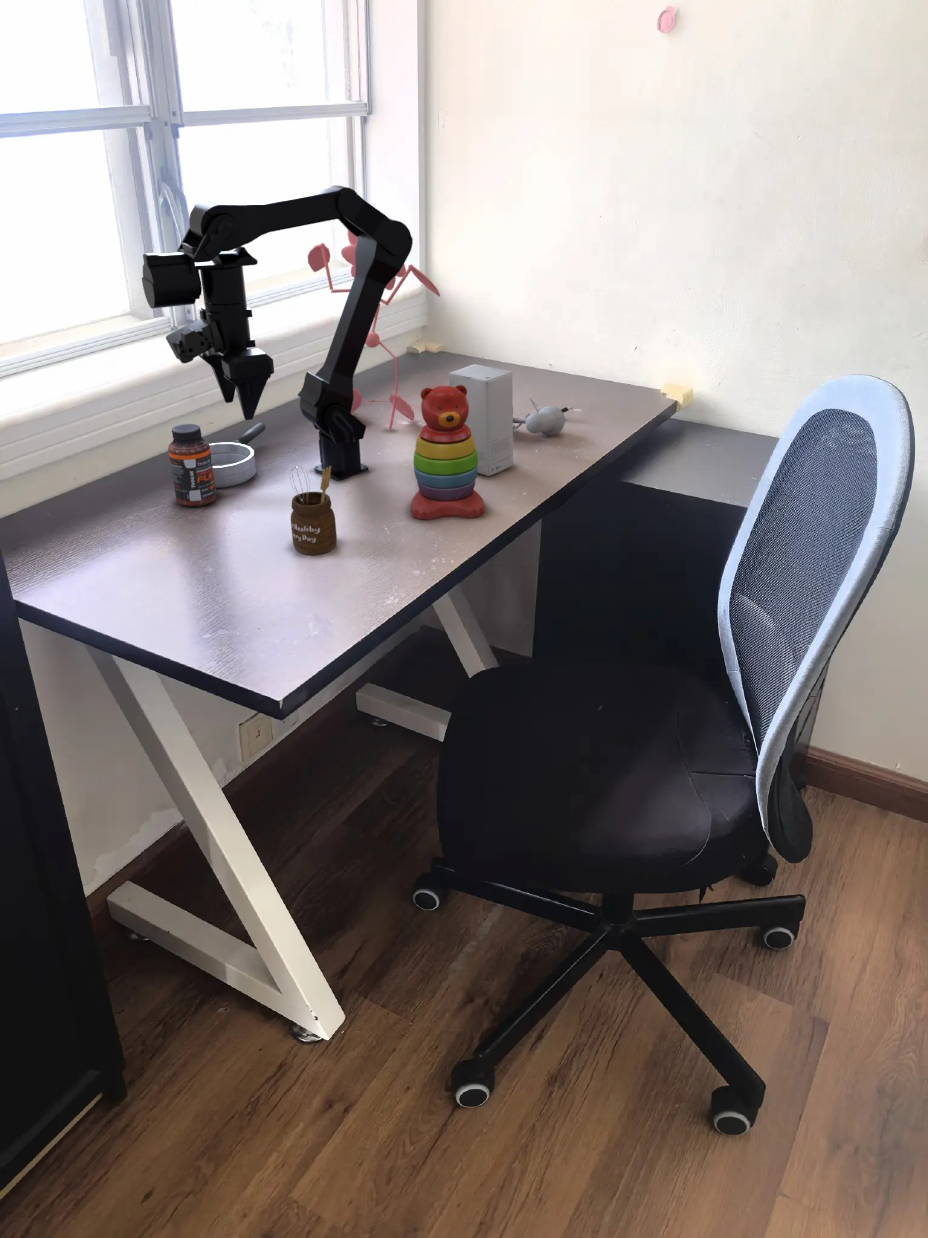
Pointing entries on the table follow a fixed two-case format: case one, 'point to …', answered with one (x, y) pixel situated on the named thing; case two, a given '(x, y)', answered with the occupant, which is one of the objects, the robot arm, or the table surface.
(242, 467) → the pan
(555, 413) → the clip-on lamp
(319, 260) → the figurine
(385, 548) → the table surface
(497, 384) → the cosmetic box
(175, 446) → the supplement bottle
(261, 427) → the pan handle
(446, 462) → the stacking bear
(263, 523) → the table surface
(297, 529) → the utensil holder
